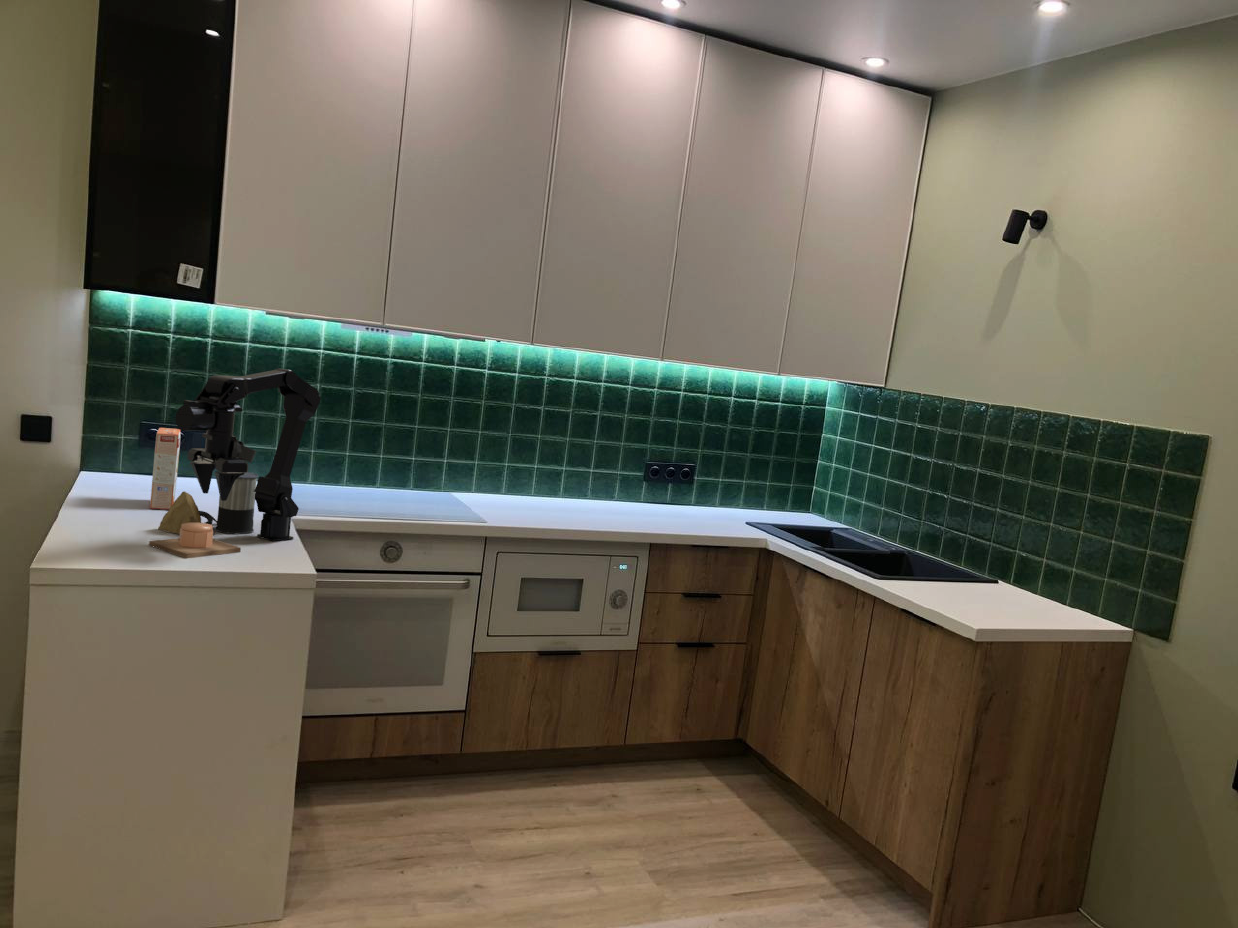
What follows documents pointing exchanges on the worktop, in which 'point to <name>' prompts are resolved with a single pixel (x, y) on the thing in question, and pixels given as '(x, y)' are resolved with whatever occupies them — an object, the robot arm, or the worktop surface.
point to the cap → (196, 535)
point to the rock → (180, 514)
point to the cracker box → (165, 468)
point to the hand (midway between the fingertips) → (214, 496)
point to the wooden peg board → (189, 552)
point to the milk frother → (236, 507)
